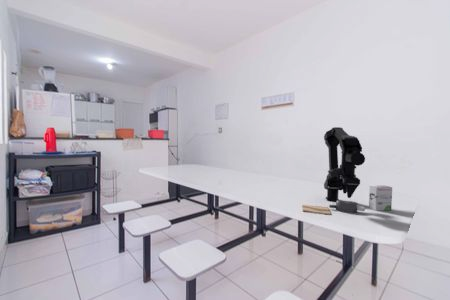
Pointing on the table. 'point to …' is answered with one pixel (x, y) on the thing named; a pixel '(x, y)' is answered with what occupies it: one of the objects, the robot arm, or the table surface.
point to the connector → (347, 206)
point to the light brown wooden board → (316, 209)
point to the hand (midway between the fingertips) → (346, 195)
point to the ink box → (380, 198)
